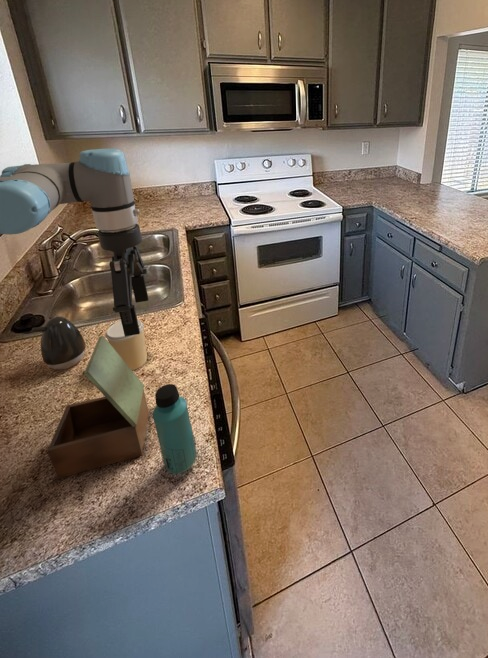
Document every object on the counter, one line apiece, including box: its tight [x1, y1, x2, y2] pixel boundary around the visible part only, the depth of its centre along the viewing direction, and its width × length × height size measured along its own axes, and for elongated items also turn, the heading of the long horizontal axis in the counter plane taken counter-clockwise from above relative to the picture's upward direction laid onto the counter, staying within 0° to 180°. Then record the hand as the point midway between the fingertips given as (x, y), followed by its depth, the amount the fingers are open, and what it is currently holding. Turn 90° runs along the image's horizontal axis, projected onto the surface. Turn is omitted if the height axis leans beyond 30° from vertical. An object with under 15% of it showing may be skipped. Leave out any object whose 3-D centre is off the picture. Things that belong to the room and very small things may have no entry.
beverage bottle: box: [152, 383, 198, 475], centre depth 71 cm, size 6×7×20 cm
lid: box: [83, 335, 145, 427], centre depth 76 cm, size 17×12×1 cm
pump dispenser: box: [31, 316, 87, 370], centre depth 101 cm, size 10×10×15 cm
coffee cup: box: [105, 318, 148, 371], centre depth 102 cm, size 9×9×12 cm
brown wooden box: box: [46, 390, 150, 479], centre depth 78 cm, size 16×12×8 cm
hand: (137, 316), depth 79 cm, fingers open, 13 cm apart
